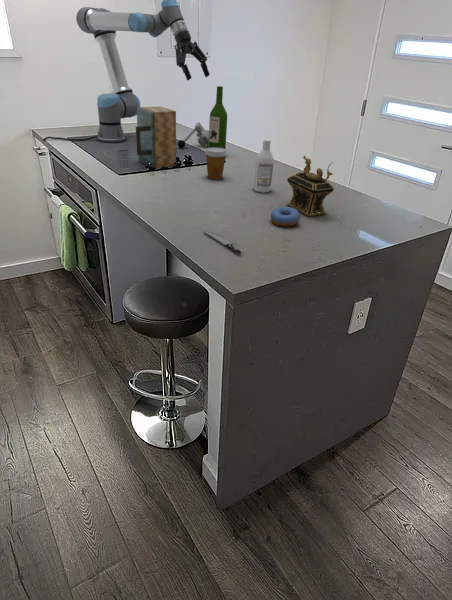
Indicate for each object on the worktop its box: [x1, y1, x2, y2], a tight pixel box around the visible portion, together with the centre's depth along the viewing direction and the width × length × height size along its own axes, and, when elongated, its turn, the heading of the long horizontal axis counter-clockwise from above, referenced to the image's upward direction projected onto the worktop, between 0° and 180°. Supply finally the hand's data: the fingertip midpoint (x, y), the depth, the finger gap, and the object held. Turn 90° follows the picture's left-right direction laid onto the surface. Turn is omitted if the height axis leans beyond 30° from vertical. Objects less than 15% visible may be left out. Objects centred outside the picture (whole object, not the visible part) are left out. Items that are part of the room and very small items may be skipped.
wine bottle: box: [208, 85, 228, 150], centre depth 218 cm, size 9×9×32 cm
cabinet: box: [139, 105, 177, 169], centre depth 199 cm, size 11×14×24 cm
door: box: [135, 108, 156, 169], centre depth 194 cm, size 7×14×24 cm, turn 37°
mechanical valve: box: [177, 122, 209, 149], centre depth 239 cm, size 10×18×15 cm
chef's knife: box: [204, 231, 242, 255], centre depth 131 cm, size 19×1×3 cm
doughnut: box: [270, 206, 301, 227], centre depth 147 cm, size 10×10×5 cm
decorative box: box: [286, 155, 335, 217], centre depth 155 cm, size 20×10×20 cm, turn 28°
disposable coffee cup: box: [204, 147, 228, 181], centre depth 187 cm, size 10×10×12 cm
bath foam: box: [253, 138, 274, 194], centre depth 173 cm, size 7×7×20 cm
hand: (198, 77), depth 214 cm, fingers open, 13 cm apart
